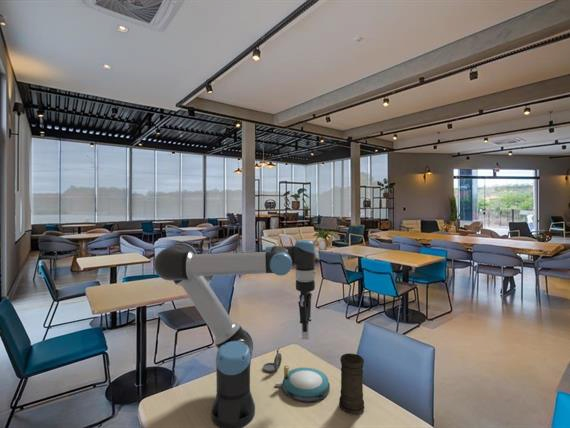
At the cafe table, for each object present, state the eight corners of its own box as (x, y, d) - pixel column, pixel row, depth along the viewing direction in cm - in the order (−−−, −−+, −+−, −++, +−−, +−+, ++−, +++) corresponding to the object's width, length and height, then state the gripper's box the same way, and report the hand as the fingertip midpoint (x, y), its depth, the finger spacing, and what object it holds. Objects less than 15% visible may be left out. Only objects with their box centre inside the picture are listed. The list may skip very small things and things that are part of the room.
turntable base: (272, 400, 116) (272, 396, 116) (278, 372, 135) (278, 369, 135) (330, 404, 114) (330, 400, 114) (328, 375, 133) (328, 372, 133)
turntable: (328, 372, 132) (328, 359, 131) (328, 399, 114) (328, 383, 114) (287, 369, 134) (287, 355, 134) (280, 394, 117) (280, 379, 116)
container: (365, 416, 107) (365, 366, 107) (338, 413, 109) (339, 363, 108) (363, 400, 116) (364, 353, 116) (339, 397, 118) (340, 351, 117)
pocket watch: (262, 365, 141) (262, 344, 141) (280, 363, 142) (280, 342, 142) (264, 375, 133) (264, 352, 132) (283, 373, 134) (283, 351, 134)
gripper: (311, 284, 114) (311, 347, 115) (317, 276, 127) (318, 332, 128) (291, 283, 117) (292, 344, 117) (300, 275, 129) (300, 330, 130)
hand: (305, 338), depth 123 cm, fingers closed
